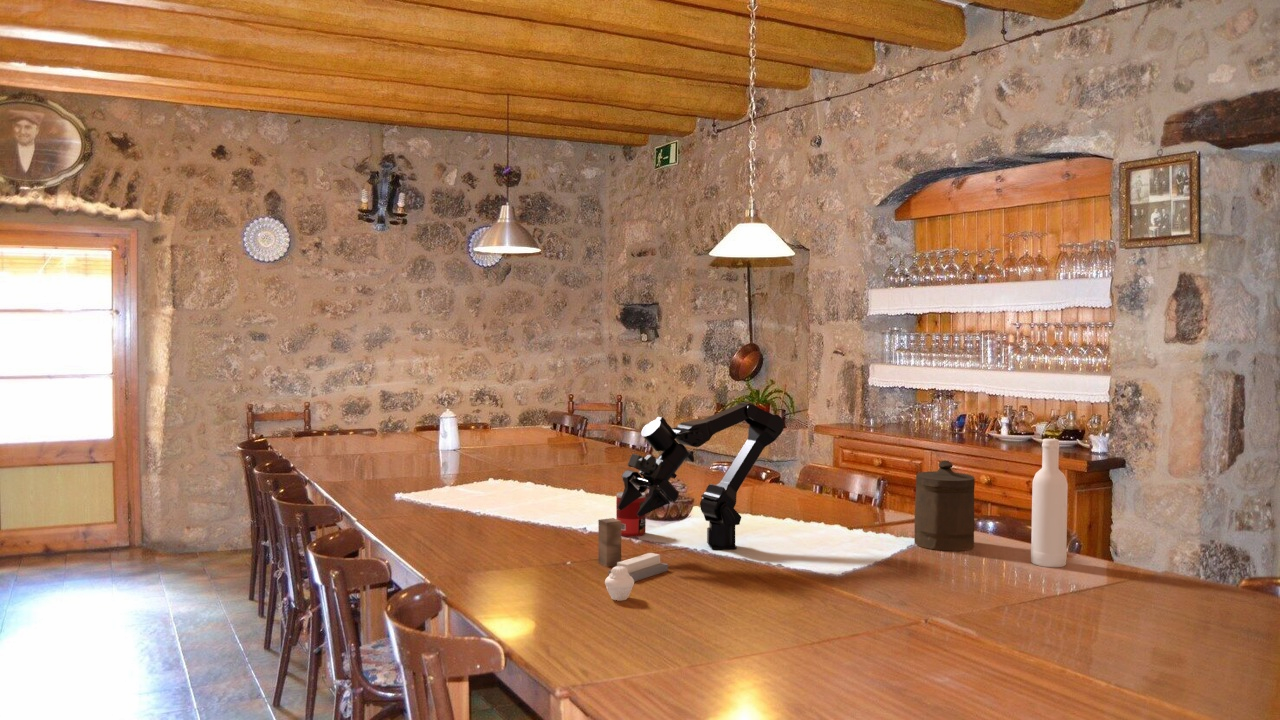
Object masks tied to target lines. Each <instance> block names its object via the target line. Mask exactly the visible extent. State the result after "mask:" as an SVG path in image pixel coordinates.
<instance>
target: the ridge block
mask: <svg viewBox="0 0 1280 720" xmlns="http://www.w3.org/2000/svg"><path fill="white" fill-rule="evenodd" d="M616 566H623V567H625V568H627V570H628V573H629V575H630V576H631V577H632V578H633V579H634V583H635V582H638V581H641V580H644V579H647V578H649V577H653V576H656V575H659V574H662V573H665V572H668V571H669V564H668V563H664V562H661V554H658V553H654V552H647V553H644V554H642V555H637V556H635V557H632V558H628V559H625V560H621V562H618V563H617V565H616ZM611 570H612V569H609V570H608V575H609V574H611Z"/></svg>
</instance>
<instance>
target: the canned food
mask: <svg viewBox="0 0 1280 720" xmlns="http://www.w3.org/2000/svg"><path fill="white" fill-rule="evenodd" d="M623 492H624V491H620V492H617V493H616V502H615V503H616V505H615V506H616V512H615V513H616V515H615V517H616V518H615V519H617V520H620V521H621V537H627V538H629V537H630V538H631V537H633V538H635V537H642V536H644V535H645V534H646V524H647V523H646V522H647V521H646V520H647V519H646V516H647V514H645V515H643V516H641V517H639V516H638V515H637V513H638V511H639V509H640V507H641V506H642V504H643V503H644V501H645V500H646V498H647V497H646V493H645V492H643V493H641V494H642V496H641V497H639V498H638V499H636V500H635V501H634V502H632V503H631V504H630V505H628V506H627V507H625V508H624V509H622V510H619V509H618V505H619V502H620V500H621V497H622V495H623Z"/></svg>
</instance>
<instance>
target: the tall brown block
mask: <svg viewBox="0 0 1280 720" xmlns="http://www.w3.org/2000/svg"><path fill="white" fill-rule="evenodd" d="M597 524H598V564H600V565H602V566H604V567H606V568H608V567H616V566H617V563H618V562H621V561H622V536H621V521H620V520H617V519H616V518H614V517H611V518H610V517H609V518H602V519H601V518H600V519H598V523H597Z"/></svg>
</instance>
